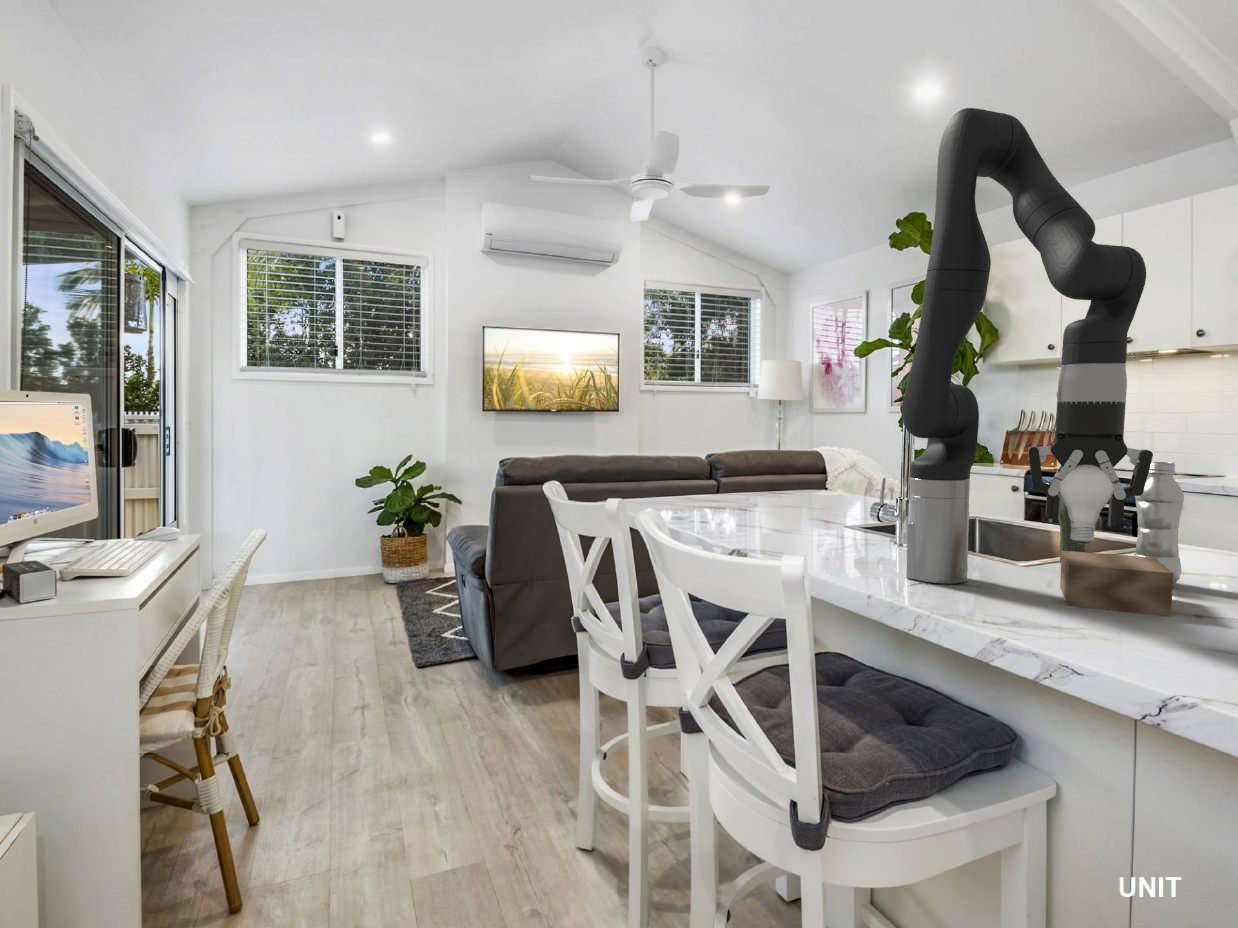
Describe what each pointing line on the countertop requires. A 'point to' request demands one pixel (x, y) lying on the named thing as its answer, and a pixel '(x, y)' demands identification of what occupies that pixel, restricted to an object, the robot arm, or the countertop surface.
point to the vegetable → (1067, 531)
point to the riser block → (1116, 582)
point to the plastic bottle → (1160, 517)
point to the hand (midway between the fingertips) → (1083, 524)
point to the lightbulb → (1085, 499)
